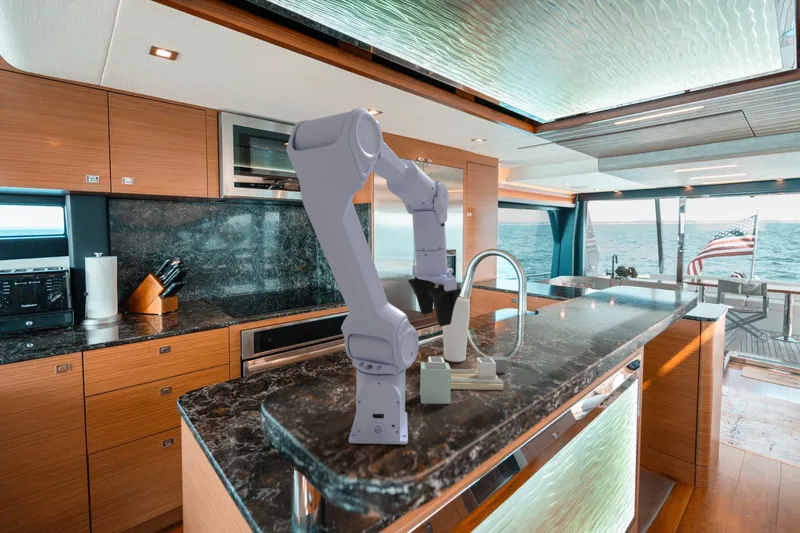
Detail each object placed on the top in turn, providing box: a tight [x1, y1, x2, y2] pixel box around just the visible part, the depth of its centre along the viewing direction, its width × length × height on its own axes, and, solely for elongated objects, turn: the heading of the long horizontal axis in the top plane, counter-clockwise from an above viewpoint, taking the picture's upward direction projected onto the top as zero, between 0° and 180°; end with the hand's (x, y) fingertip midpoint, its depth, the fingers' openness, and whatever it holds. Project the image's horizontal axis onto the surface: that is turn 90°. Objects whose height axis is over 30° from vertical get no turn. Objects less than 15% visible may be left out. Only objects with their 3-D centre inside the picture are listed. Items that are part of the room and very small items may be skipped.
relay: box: [485, 355, 508, 374], centre depth 84 cm, size 3×4×3 cm
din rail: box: [451, 368, 504, 383], centre depth 76 cm, size 6×15×1 cm, turn 90°
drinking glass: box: [441, 296, 471, 363], centre depth 91 cm, size 7×7×15 cm
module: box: [419, 361, 452, 405], centre depth 67 cm, size 4×5×6 cm
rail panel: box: [451, 373, 505, 391], centre depth 76 cm, size 8×15×1 cm, turn 90°
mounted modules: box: [427, 356, 497, 379], centre depth 76 cm, size 4×13×4 cm, turn 90°
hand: (435, 318), depth 72 cm, fingers open, 7 cm apart
